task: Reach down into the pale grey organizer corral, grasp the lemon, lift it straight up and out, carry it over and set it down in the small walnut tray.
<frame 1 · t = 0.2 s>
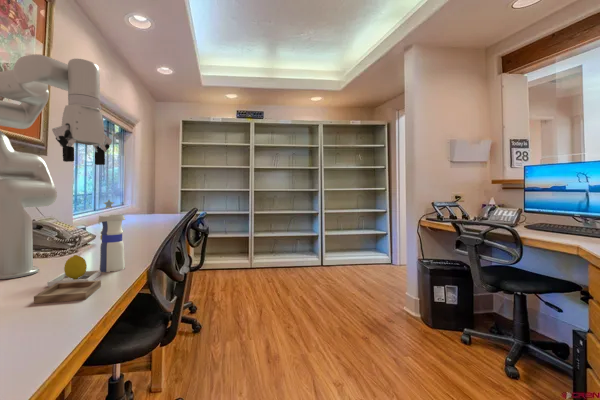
hand: (85, 163, 86), 36 cm above the table, tool pointing down, fingers open, 9 cm apart
lemon: (75, 280, 92), resting in corral
water bottle: (111, 269, 105), on the table
tray: (70, 294, 79), on the table
corral: (75, 280, 92), on the table
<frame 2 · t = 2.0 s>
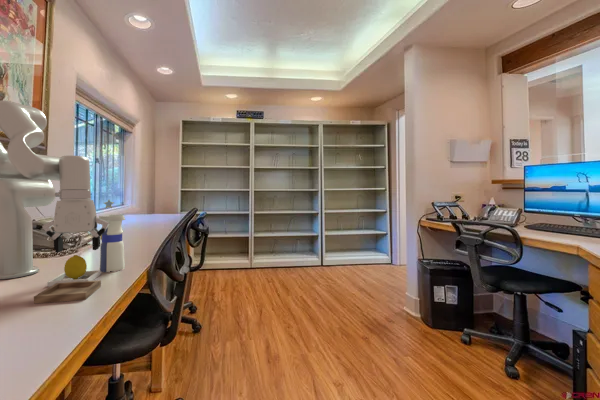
hand: (77, 250, 91), 9 cm above the table, tool pointing down, fingers open, 9 cm apart
nothing on the table moved.
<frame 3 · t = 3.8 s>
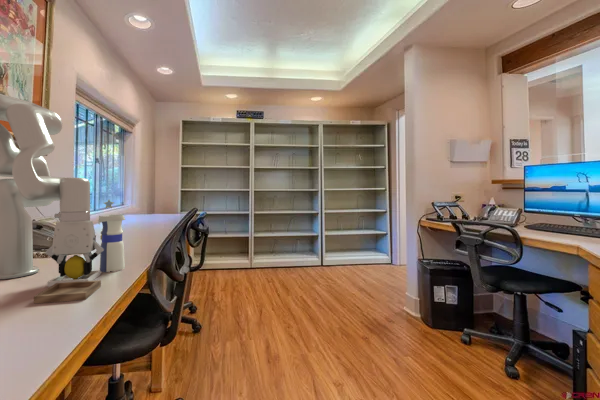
hand: (75, 274, 92), 2 cm above the table, tool pointing down, fingers closed on lemon, 5 cm apart
lemon: (75, 280, 92), resting in corral, touching gripper
everything else where it was.
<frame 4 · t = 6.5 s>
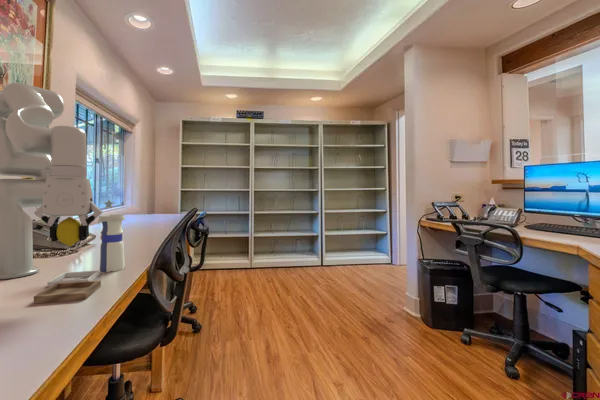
hand: (69, 239, 79), 15 cm above the table, tool pointing down, fingers closed on lemon, 5 cm apart
lemon: (69, 247, 79), point 13 cm above the table, touching gripper
everything else where it was.
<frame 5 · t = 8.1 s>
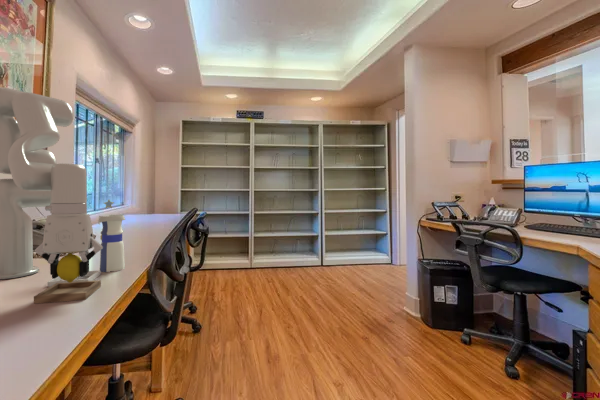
hand: (70, 275, 79), 5 cm above the table, tool pointing down, fingers closed on lemon, 5 cm apart
lemon: (70, 283, 79), point 3 cm above the table, touching gripper
everything else where it was.
when the fingers open (4 cm above the table, at t = 9.2 s): lemon drops 1 cm, resting on tray.
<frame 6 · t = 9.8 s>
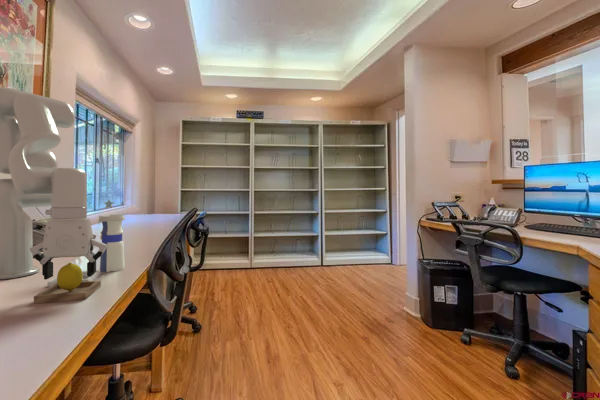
hand: (70, 276, 79), 5 cm above the table, tool pointing down, fingers open, 9 cm apart
lemon: (70, 292, 80), resting on tray
everything else where it was.
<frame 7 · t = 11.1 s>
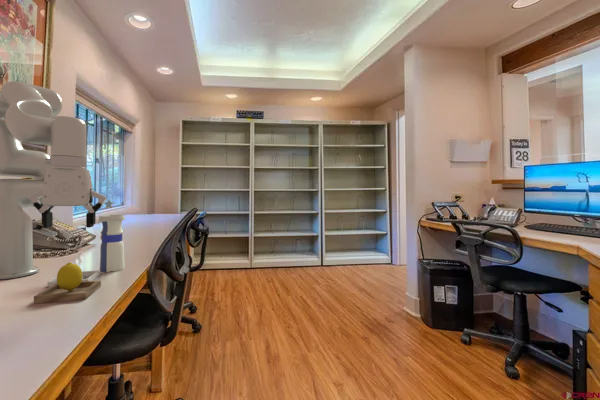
hand: (69, 227, 79), 18 cm above the table, tool pointing down, fingers open, 9 cm apart
nothing on the table moved.
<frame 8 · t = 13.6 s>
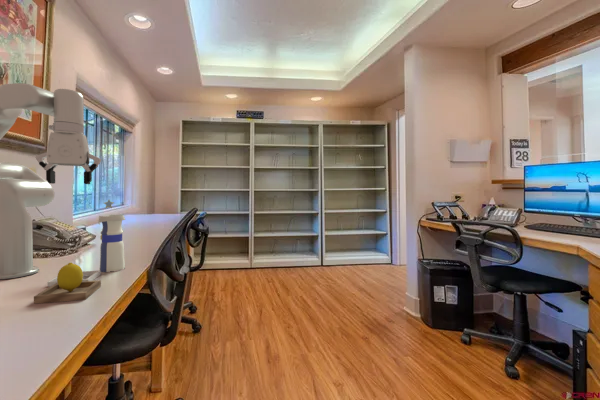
hand: (69, 183, 94), 30 cm above the table, tool pointing down, fingers open, 9 cm apart
nothing on the table moved.
at the end: lemon inside the target area on the tray (0.2 cm from its centre), point 0.4 cm above the tray's base; the gripper is holding nothing; lemon moved 14.4 cm from its start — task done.
